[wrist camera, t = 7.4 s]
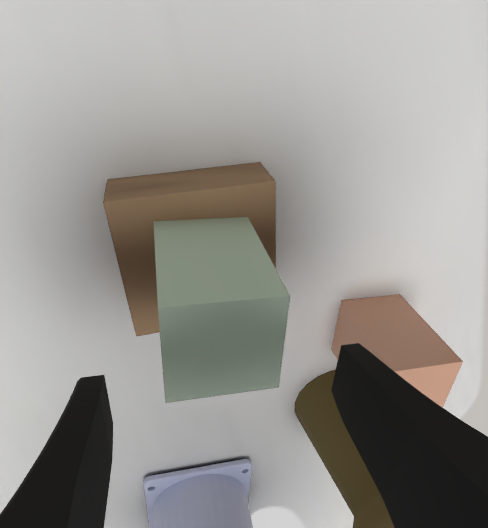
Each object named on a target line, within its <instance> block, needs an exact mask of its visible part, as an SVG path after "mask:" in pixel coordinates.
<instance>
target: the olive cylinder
mask: <svg viewBox="0 0 488 528" xmlns="http://www.w3.org/2000/svg"><path fill="white" fill-rule="evenodd" d="M335 371H336V370H334V371H330V372H328V373H325V374H323V375H321V376H319V377H317V378H316V379H314V380H313V381H311V382H310V383H309V384H307V385H306V386H305V388H304V389H303V390H302V391H301V392H300V393H299V395H298V397H297V399H296V402H295V413H296V415H297V418H298V419H299V421H300V423H301V425H302V426H303V428H304V430H305V432H306V433H307V435H308V437H309V439H310V440H311V442H312V444H313V446H314V447H315V449H316V451H317V453H318V454H319V456H320V458H321V460H322V461H323V463H324V465H325V467H326V468H327V470H328V472H329V474H330V475H331V477H332V479H333V480H334V482H335V484H336V486H337V487H338V489H339V491H340V493H341V494H342V496H343V498H344V500H345V501H346V503H347V505H348V507H349V508H350V510H351V512H352V514H353V515H354V523H353V528H395V527H394V525H393V523H392V520H391V518H390V515H389V513H388V510H387V508H386V506H385V503H384V501H383V499H382V497H381V495H380V493H379V490H378V488H377V486H376V484H375V483H374V481H373V479H372V477H371V475H370V473H369V471H368V469H367V467H366V465H365V463H364V462H363V460H362V458H361V456H360V454H359V452H358V450H357V448H356V446H355V444H354V442H353V441H352V439H351V437H350V435H349V433H348V431H347V429H346V427H345V425H344V423H343V421H342V418H341V416H340V413H339V411H338V408H337V405H336V402H335V400H334V397H333V394H332V391H331V389H332V385H333V380H334V376H335Z"/></svg>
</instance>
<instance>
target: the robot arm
mask: <svg viewBox="0 0 488 528" xmlns="http://www.w3.org/2000/svg"><path fill="white" fill-rule="evenodd" d="M331 391H332V394H333V397H334V400H335V402H336V405H337V408H338V411H339V413H340V416H341V418H342V421H343V423H344V425H345V427H346V429H347V431H348V433H349V435H350V437H351V439H352V441H353V442H354V444H355V446H356V448H357V450H358V452H359V454H360V456H361V458H362V460H363V462H364V463H365V465H366V467H367V469H368V471H369V473H370V475H371V477H372V479H373V481H374V483H375V484H376V486H377V488H378V490H379V493H380V495H381V497H382V499H383V501H384V503H385V506H386V508H387V510H388V513H389V515H390V518H391V520H392V523H393V525H394V527H395V528H488V437H487V436H485V435H484V434H482V433H481V432H479V431H477V430H476V429H474V428H472V427H471V426H469V425H468V424H466V423H464V422H463V421H461V420H460V419H458V418H457V417H455V416H454V415H452V414H451V413H449V412H448V411H446V410H445V409H444V408H442V407H441V406H439V405H438V404H436V403H435V402H434V401H432V400H431V399H429V398H428V397H427V396H425V395H424V394H423V393H421V392H420V391H419V390H417V389H416V388H415V387H413V386H412V385H411V384H410V383H408V382H407V381H406V380H404V379H403V378H402V377H401V376H399V375H398V374H397V373H396V372H394V371H393V370H392V369H391V368H389V367H388V366H387V365H386V364H384V363H383V362H382V361H381V360H380V359H378V358H377V357H376V356H375V355H373V354H372V353H371V352H370V351H368V350H367V349H366V348H365V347H363V346H362V345H361V344H359V343H355V344H347V345H341V348H340V353H339V357H338V362H337V367H336V371H335V376H334V380H333V385H332V389H331ZM112 448H113V421H112V415H111V410H110V404H109V399H108V394H107V388H106V383H105V377H104V375H99V376H91V377H83V378H80V379H79V380H78V381H77V384H76V386H75V389H74V391H73V393H72V395H71V397H70V400H69V402H68V404H67V406H66V408H65V410H64V412H63V414H62V416H61V418H60V419H59V421H58V423H57V425H56V427H55V429H54V430H53V432H52V434H51V436H50V438H49V439H48V441H47V443H46V445H45V447H44V448H43V450H42V452H41V453H40V455H39V457H38V458H37V460H36V461H35V463H34V465H33V466H32V468H31V469H30V471H29V472H28V474H27V476H26V477H25V479H24V480H23V482H22V484H21V485H20V487H19V488H18V490H17V491H16V492H15V494H14V495H13V497H12V498H11V500H10V501H9V503H8V504H7V506H6V507H5V508H4V510H3V511H2V512H1V514H0V528H104V520H105V512H106V505H107V497H108V489H109V481H110V473H111V465H112ZM251 469H252V464H251V461H250V460H249V459H242V460H236V461H231V462H225V463H219V464H214V465H208V466H203V467H197V468H192V469H186V470H180V471H175V472H169V473H164V474H158V475H152V476H148V477H146V478H145V479H144V491H145V498H146V505H147V512H148V519H149V526H150V528H253V526H252V521H251V517H250V512H249V508H248V502H249V491H250V480H251Z"/></svg>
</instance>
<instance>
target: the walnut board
mask: <svg viewBox="0 0 488 528" xmlns="http://www.w3.org/2000/svg"><path fill="white" fill-rule="evenodd" d="M103 203H104V207H105V211H106V215H107V219H108V224H109V228H110V232H111V236H112V240H113V244H114V248H115V252H116V256H117V260H118V264H119V268H120V272H121V276H122V280H123V284H124V288H125V292H126V297H127V301H128V305H129V309H130V313H131V317H132V321H133V325H134V329H135V333H136V336H141V335H146V334H152V333H158V332H160V327H159V315H158V299H157V280H156V261H155V242H154V223H153V221H171V220H191V219H212V218H234V217H248V218H249V220H250V222H251V224H252V226H253V227H254V229H255V231H256V233H257V235H258V237H259V239H260V241H261V242H262V244H263V246H264V248H265V250H266V252H267V254H268V256H269V257H270V259H271V261H272V263H273V265H274V267H275V269H276V240H275V180H274V179H273V178H272V176H271V175H270V174H269V173H268V171H267V170H266V169H265V168H264V167H263V165H262V164H261V163H260V162H257V163H248V164H240V165H231V166H222V167H213V168H204V169H196V170H187V171H178V172H169V173H161V174H152V175H143V176H134V177H126V178H117V179H108V180H107V185H106V190H105V195H104V201H103Z"/></svg>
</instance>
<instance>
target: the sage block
mask: <svg viewBox="0 0 488 528" xmlns="http://www.w3.org/2000/svg"><path fill="white" fill-rule="evenodd" d="M153 223H154V242H155V261H156V280H157V299H158V315H159V327H160V340H161V353H162V365H163V378H164V390H165V403H167V402H175V401H182V400H189V399H197V398H204V397H211V396H219V395H226V394H233V393H241V392H248V391H255V390H262V389H270V388H277V387H279V381H280V372H281V364H282V356H283V348H284V340H285V332H286V324H287V316H288V308H289V300H290V295H289V293H288V291H287V289H286V287H285V286H284V284H283V282H282V280H281V278H280V276H279V274H278V272H277V271H276V269H275V267H274V265H273V263H272V261H271V259H270V257H269V256H268V254H267V252H266V250H265V248H264V246H263V244H262V242H261V241H260V239H259V237H258V235H257V233H256V231H255V229H254V227H253V226H252V224H251V222H250V220H249V218H248V217H234V218H212V219H191V220H171V221H153Z"/></svg>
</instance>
